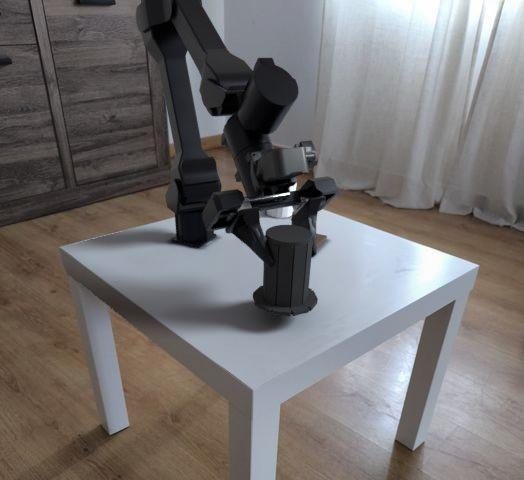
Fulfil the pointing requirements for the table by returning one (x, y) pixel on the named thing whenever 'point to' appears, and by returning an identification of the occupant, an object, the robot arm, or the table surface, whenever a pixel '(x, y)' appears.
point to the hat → (287, 272)
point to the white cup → (282, 211)
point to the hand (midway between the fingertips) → (292, 260)
